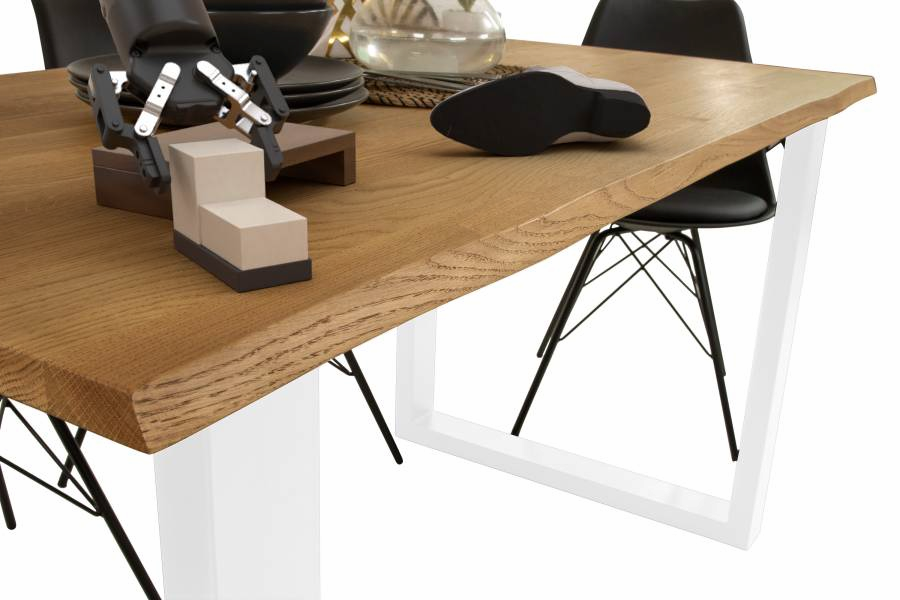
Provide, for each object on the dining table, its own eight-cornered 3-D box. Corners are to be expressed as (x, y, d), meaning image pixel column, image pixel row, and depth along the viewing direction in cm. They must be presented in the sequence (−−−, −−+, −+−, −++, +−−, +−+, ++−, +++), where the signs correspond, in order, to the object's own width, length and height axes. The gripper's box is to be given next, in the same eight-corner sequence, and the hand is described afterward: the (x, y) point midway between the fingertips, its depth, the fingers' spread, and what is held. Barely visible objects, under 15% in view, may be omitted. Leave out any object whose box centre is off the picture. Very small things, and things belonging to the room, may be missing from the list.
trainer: (312, 279, 71) (310, 167, 68) (238, 292, 68) (232, 176, 65) (241, 237, 80) (236, 137, 78) (173, 247, 77) (166, 144, 74)
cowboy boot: (672, 82, 114) (587, 58, 137) (439, 63, 106) (389, 41, 129) (658, 164, 117) (577, 127, 140) (430, 152, 109) (383, 115, 132)
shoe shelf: (356, 182, 99) (355, 131, 97) (219, 229, 82) (216, 168, 81) (244, 164, 105) (242, 116, 103) (96, 204, 89) (90, 148, 87)
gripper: (67, -24, 72) (135, 164, 68) (250, -25, 80) (322, 143, 75) (55, 44, 78) (116, 221, 73) (227, 37, 86) (292, 197, 81)
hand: (221, 182), depth 74 cm, fingers open, 8 cm apart
